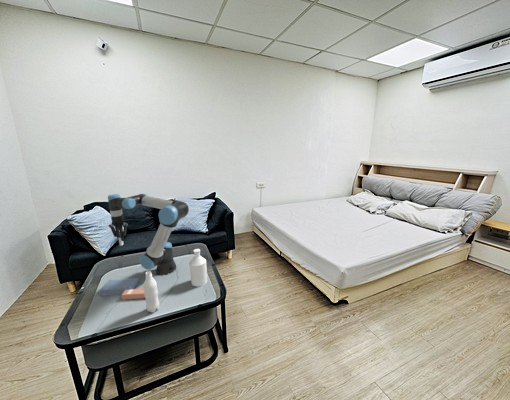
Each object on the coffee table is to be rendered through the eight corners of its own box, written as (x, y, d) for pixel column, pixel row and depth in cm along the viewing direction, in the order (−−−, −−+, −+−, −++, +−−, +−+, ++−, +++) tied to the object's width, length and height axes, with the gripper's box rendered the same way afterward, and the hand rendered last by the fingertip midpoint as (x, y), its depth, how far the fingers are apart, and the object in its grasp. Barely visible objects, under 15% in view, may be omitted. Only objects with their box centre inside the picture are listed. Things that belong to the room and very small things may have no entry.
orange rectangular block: (157, 292, 145) (156, 287, 145) (154, 297, 140) (153, 292, 139) (126, 294, 144) (125, 289, 143) (122, 299, 138) (121, 294, 138)
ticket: (138, 282, 157) (138, 277, 156) (131, 293, 145) (130, 288, 144) (109, 284, 155) (109, 279, 154) (99, 295, 144) (98, 290, 143)
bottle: (200, 275, 165) (197, 245, 159) (211, 280, 158) (208, 249, 153) (187, 283, 155) (184, 251, 150) (198, 288, 149) (195, 255, 143)
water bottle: (149, 305, 133) (144, 269, 127) (161, 305, 133) (156, 268, 128) (144, 314, 126) (139, 276, 120) (157, 313, 126) (152, 275, 121)
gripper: (128, 213, 163) (132, 242, 168) (110, 214, 161) (115, 243, 166) (123, 216, 155) (128, 246, 160) (104, 217, 154) (109, 247, 159)
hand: (121, 244), depth 163 cm, fingers closed
